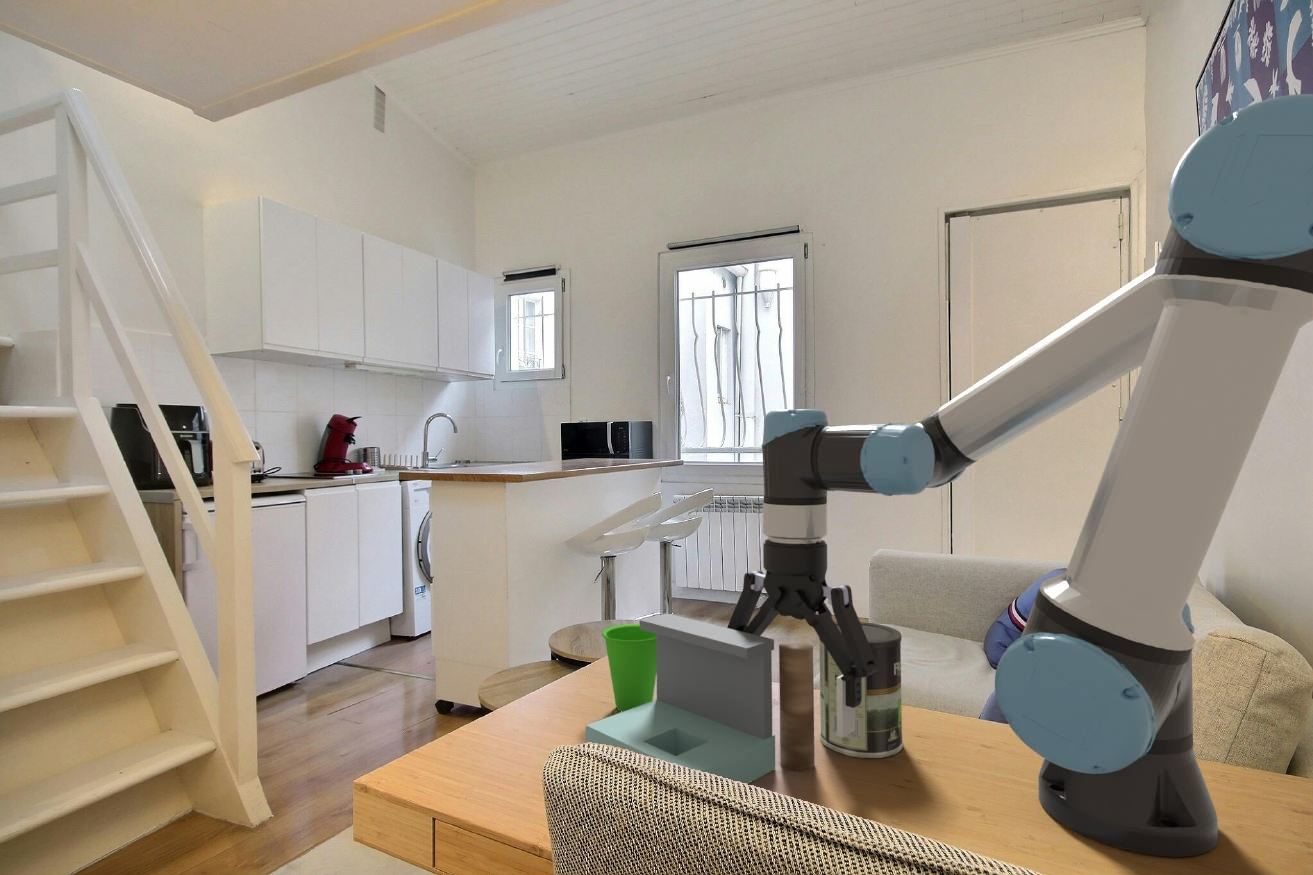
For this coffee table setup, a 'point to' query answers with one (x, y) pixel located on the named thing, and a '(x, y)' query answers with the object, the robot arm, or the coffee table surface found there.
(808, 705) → the peg
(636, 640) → the cup
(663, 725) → the socket station
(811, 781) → the coffee table surface
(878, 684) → the coffee can
